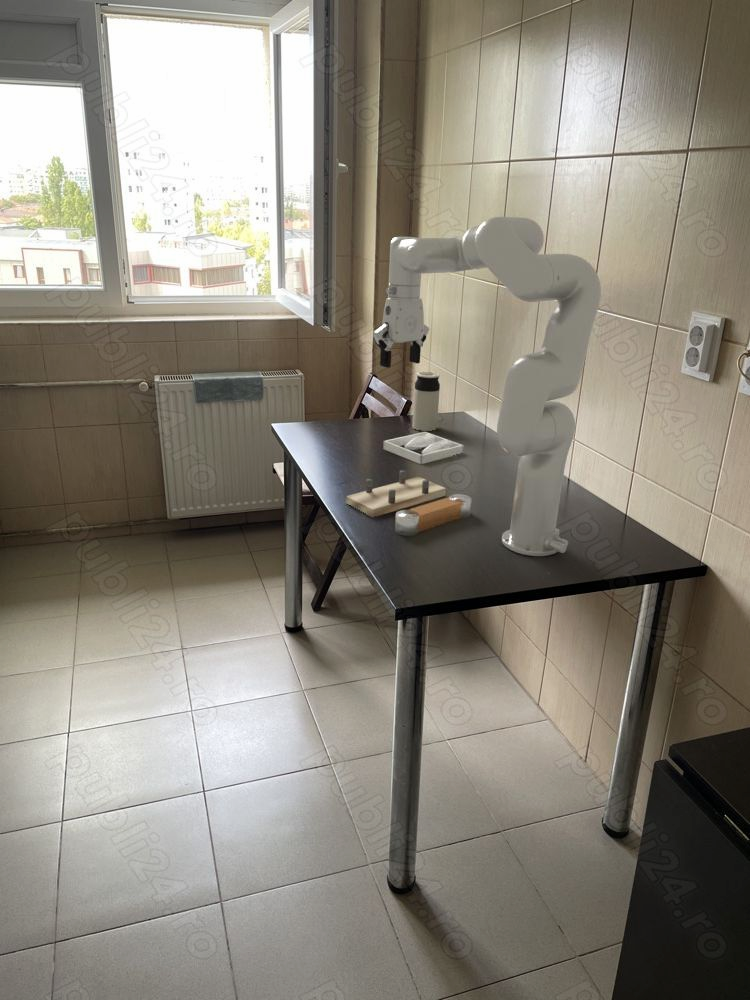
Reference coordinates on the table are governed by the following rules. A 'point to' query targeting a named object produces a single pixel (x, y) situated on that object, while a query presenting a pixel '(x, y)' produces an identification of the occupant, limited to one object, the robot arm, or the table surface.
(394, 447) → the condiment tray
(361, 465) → the table surface
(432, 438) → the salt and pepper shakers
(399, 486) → the tool rack
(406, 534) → the orange dumbbell
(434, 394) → the travel mug
